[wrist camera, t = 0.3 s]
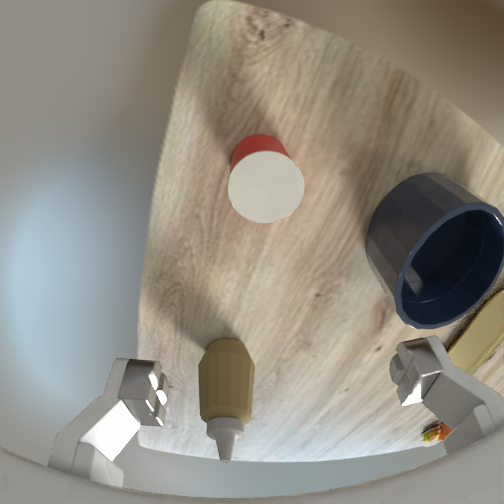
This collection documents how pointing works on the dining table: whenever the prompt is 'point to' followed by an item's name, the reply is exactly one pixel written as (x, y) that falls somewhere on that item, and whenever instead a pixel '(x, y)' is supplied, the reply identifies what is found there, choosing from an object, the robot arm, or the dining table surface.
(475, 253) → the pot
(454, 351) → the serving platter
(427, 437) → the toy tea set
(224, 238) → the dining table surface
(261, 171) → the disc
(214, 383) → the squeeze bottle
